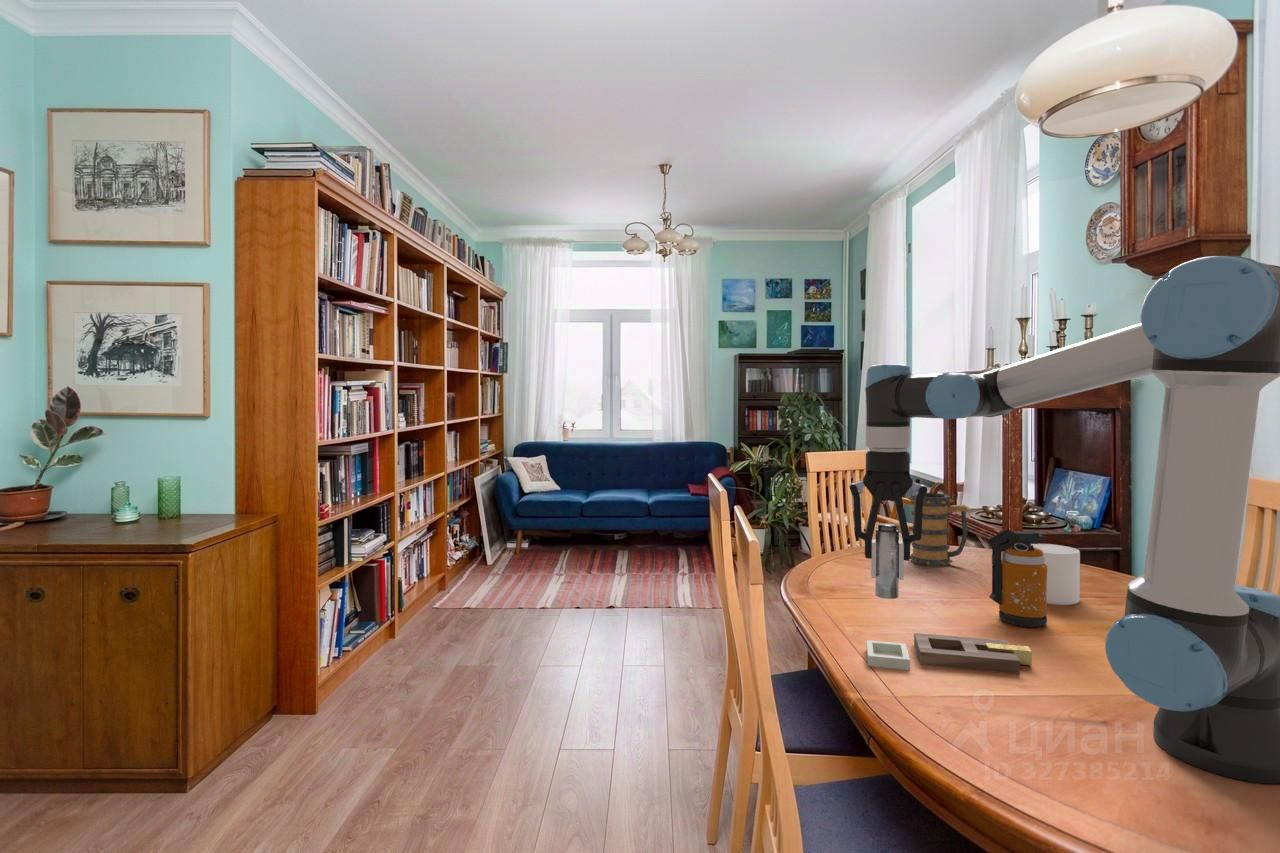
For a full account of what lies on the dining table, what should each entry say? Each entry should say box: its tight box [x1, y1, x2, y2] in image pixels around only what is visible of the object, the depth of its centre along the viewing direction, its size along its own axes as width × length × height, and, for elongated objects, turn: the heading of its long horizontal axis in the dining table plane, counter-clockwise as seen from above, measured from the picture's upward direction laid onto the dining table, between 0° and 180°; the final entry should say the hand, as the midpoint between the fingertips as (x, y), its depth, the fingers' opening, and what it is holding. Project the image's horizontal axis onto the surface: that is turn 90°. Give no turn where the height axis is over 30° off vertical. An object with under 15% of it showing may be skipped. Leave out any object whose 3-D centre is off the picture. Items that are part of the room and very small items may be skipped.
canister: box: [988, 528, 1048, 628], centre depth 143 cm, size 9×11×20 cm
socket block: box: [913, 632, 1021, 675], centre depth 122 cm, size 10×16×3 cm, turn 73°
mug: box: [906, 492, 972, 568], centre depth 194 cm, size 13×17×20 cm
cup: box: [1031, 543, 1081, 606], centre depth 160 cm, size 12×12×12 cm
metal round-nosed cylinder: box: [874, 523, 900, 600], centre depth 121 cm, size 4×4×13 cm
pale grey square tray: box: [866, 639, 911, 671], centre depth 122 cm, size 8×7×2 cm
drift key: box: [985, 643, 1033, 666], centre depth 120 cm, size 2×7×2 cm, turn 74°
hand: (887, 576), depth 121 cm, fingers closed on metal round-nosed cylinder, 4 cm apart
